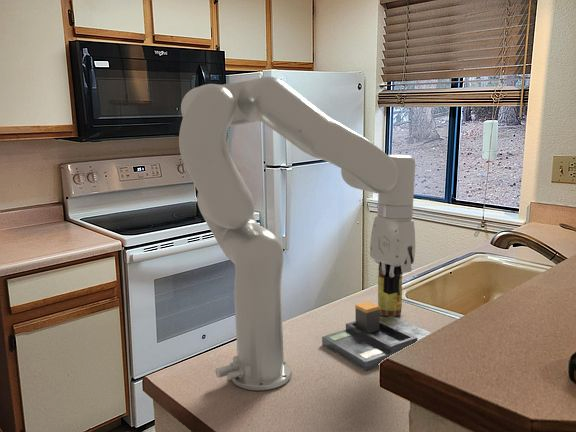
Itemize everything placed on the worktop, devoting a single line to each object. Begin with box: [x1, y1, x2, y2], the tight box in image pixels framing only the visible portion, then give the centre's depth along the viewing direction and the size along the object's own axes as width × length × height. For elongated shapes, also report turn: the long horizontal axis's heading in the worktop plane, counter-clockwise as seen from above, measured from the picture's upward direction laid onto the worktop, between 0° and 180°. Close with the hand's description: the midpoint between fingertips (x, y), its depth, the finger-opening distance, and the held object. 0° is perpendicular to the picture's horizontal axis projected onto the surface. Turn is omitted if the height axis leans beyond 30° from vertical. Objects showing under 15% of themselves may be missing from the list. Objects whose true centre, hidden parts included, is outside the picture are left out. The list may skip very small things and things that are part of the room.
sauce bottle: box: [377, 264, 403, 317], centre depth 140 cm, size 7×6×20 cm
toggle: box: [354, 301, 381, 333], centre depth 126 cm, size 4×4×6 cm
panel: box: [321, 316, 432, 372], centre depth 123 cm, size 22×16×4 cm
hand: (390, 292), depth 118 cm, fingers closed
